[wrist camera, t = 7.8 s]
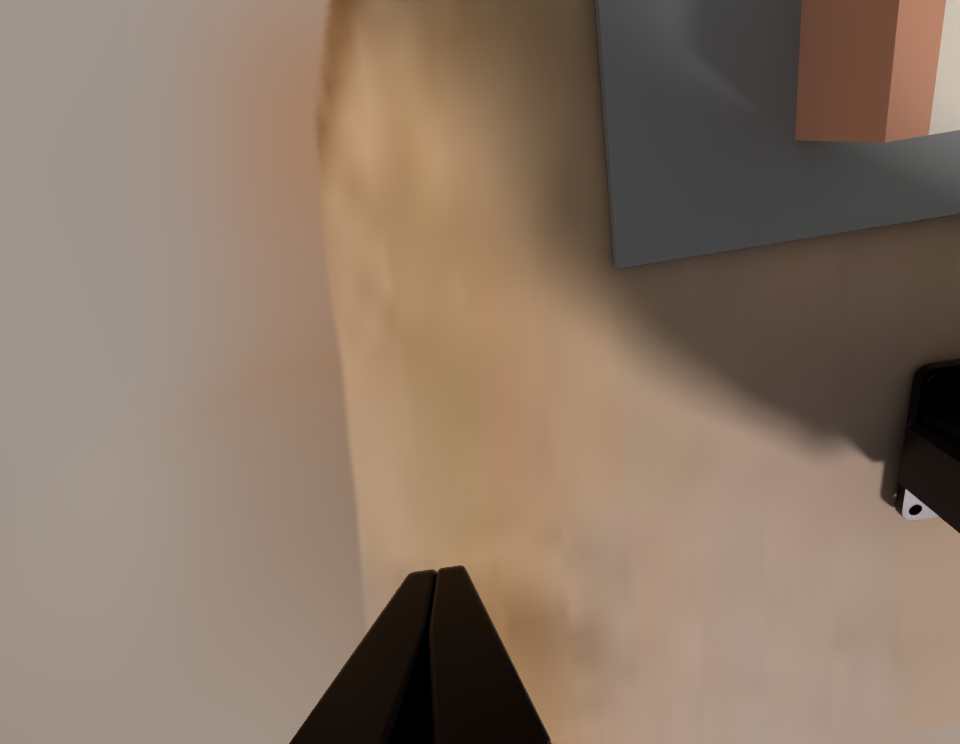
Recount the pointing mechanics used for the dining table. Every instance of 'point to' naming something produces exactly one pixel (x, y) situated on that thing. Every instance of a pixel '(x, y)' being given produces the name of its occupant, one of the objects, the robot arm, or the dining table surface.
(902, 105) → the tall block
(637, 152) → the rubber mat
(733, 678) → the dining table surface
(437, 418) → the dining table surface
